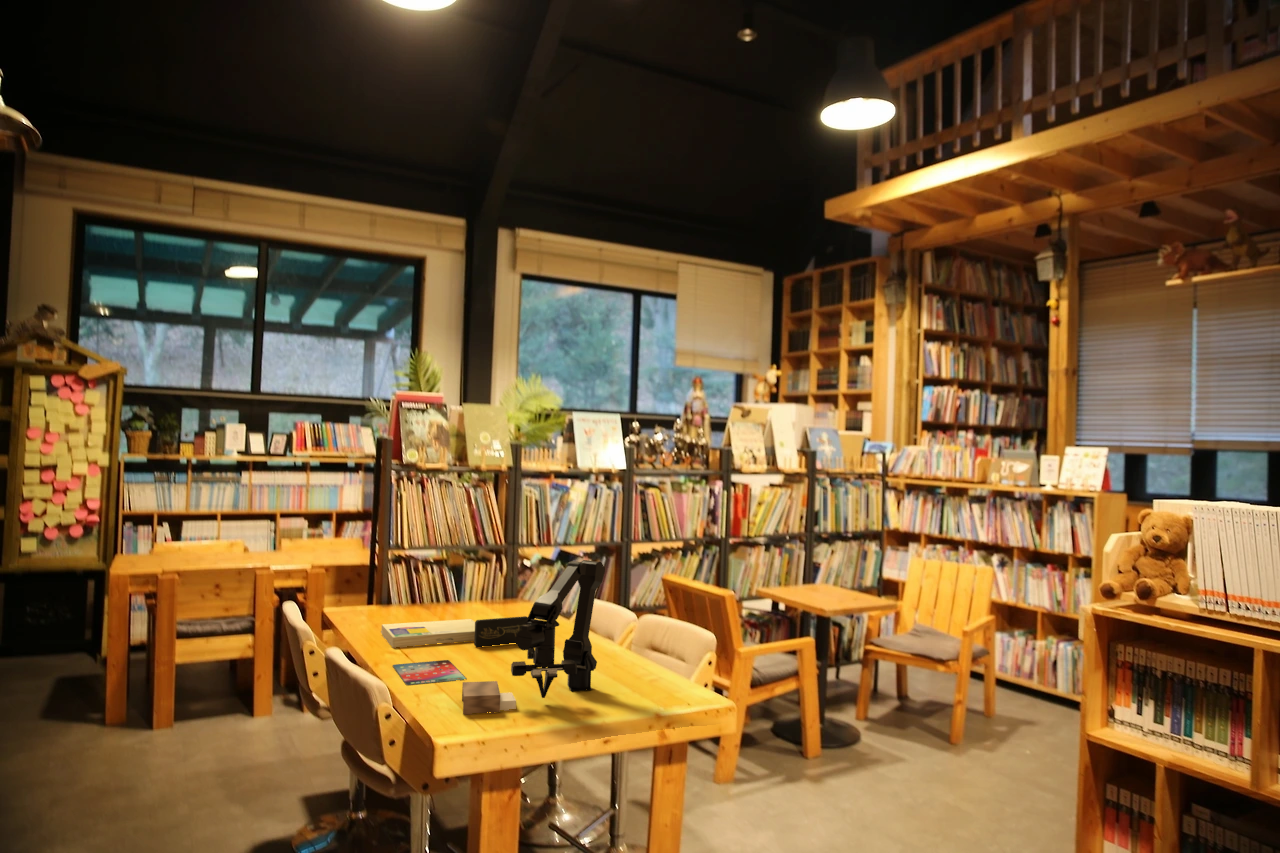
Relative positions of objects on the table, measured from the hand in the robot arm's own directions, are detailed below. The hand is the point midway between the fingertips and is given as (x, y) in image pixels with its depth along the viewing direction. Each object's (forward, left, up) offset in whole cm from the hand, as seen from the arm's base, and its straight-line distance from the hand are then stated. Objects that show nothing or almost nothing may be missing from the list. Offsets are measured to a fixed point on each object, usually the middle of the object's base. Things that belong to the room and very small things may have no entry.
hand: (543, 697), depth 239 cm
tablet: (+33, -38, -2) cm, 50 cm away
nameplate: (+7, -74, -2) cm, 74 cm away
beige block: (+14, +1, -2) cm, 14 cm away
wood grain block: (+18, 0, -2) cm, 18 cm away
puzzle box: (+32, -89, -2) cm, 95 cm away
